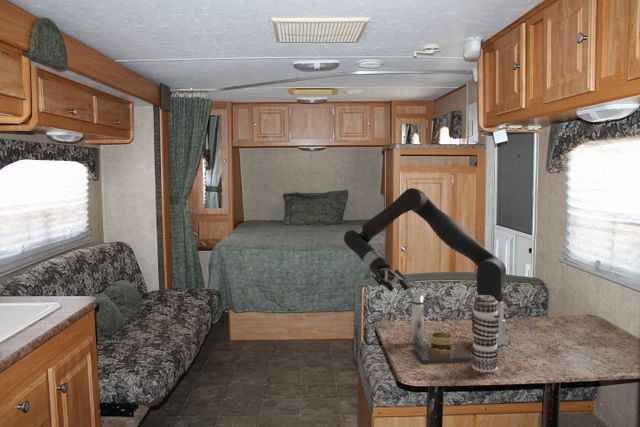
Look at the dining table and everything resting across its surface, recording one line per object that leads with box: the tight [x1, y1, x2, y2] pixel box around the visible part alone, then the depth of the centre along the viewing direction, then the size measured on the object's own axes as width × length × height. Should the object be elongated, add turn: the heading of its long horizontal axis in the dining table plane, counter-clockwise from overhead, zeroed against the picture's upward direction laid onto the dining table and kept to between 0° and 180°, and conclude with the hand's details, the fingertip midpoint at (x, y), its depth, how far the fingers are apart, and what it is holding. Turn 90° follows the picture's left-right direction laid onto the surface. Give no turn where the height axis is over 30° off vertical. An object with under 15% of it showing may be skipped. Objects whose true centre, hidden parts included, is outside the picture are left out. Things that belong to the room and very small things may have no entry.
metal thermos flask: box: [411, 293, 424, 346], centre depth 199 cm, size 4×4×19 cm
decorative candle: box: [470, 295, 500, 373], centre depth 173 cm, size 9×9×25 cm
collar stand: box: [411, 331, 473, 365], centre depth 186 cm, size 18×14×8 cm
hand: (399, 289), depth 200 cm, fingers open, 8 cm apart
